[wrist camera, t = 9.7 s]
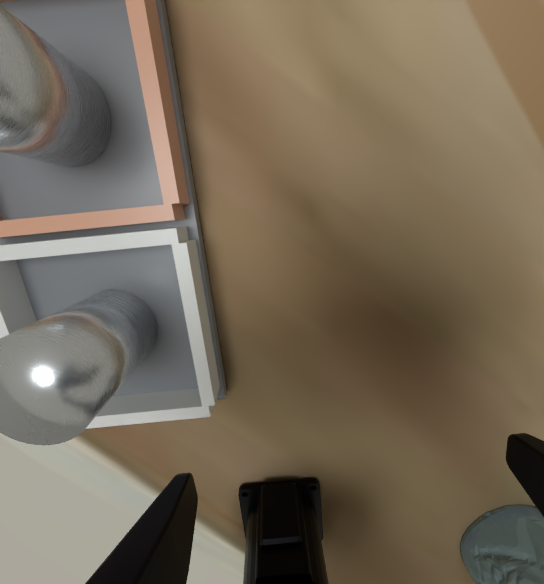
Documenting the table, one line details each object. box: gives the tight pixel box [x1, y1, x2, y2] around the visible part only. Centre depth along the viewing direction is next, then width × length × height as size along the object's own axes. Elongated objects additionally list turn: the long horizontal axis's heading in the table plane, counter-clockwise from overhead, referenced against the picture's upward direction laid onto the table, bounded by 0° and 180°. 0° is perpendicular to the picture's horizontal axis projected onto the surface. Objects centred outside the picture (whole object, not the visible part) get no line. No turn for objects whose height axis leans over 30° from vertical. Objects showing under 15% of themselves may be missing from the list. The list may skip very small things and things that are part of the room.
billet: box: [0, 289, 158, 445], centre depth 15 cm, size 5×5×7 cm
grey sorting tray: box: [0, 0, 227, 429], centre depth 16 cm, size 24×12×3 cm, turn 5°
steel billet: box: [0, 5, 112, 167], centre depth 12 cm, size 5×5×7 cm
